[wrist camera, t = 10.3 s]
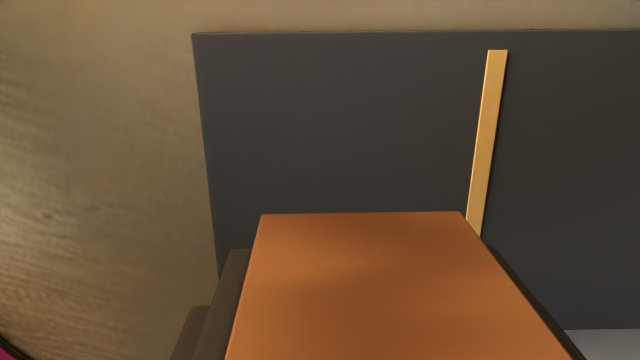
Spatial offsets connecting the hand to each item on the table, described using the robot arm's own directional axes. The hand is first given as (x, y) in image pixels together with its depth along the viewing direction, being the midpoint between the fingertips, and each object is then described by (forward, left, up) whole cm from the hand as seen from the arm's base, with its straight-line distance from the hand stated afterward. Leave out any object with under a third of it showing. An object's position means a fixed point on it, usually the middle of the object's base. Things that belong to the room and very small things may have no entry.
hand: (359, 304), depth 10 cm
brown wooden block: (0, 0, 0) cm, 0 cm away
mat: (-5, 0, -6) cm, 8 cm away
